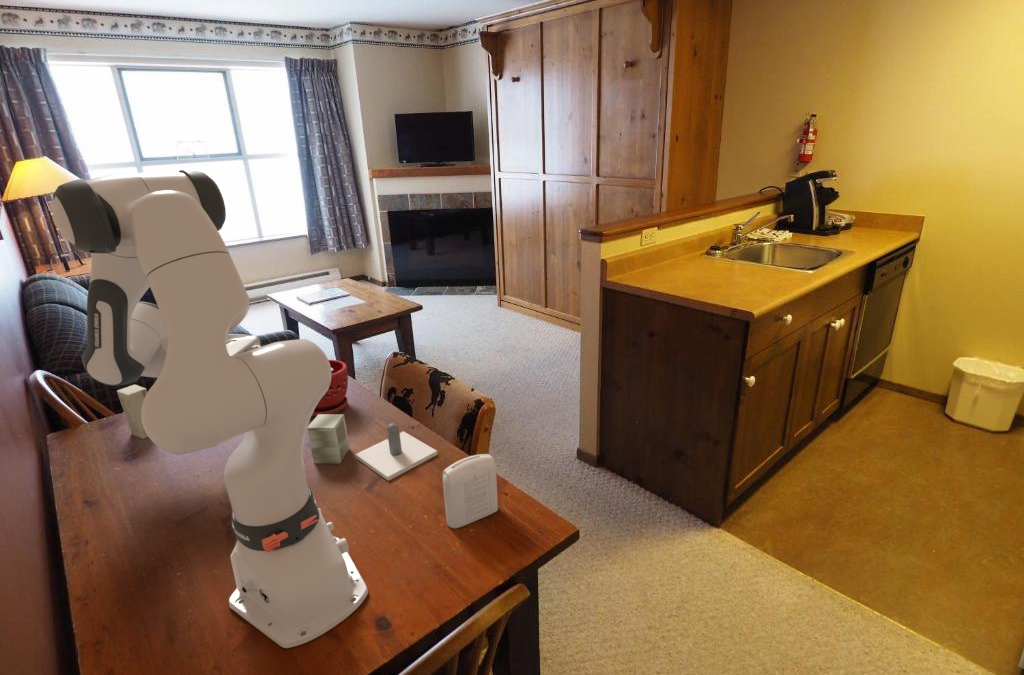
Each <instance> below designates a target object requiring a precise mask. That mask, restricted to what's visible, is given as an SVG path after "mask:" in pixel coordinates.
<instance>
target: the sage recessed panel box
mask: <svg viewBox="0 0 1024 675" xmlns="http://www.w3.org/2000/svg"><path fill="white" fill-rule="evenodd" d="M346 425H347V424H346V419H345V414H341V413H340V414H339V413H335V414H318V415H317V416H316V417H315V418H313V420H312V421H310V424H308V427H307V431H306V432H307V435H308V439H309V440H308V441H309V445H310V451H311V455H312V460H313V463H314V464H341V463H342V461H343V460H344V458H345V457H346V456H347V454H348V452H349V450H350V449H351V448H350V447H351V446H350V442H349V441H350V440H349V436H348V430H347V426H346Z"/></svg>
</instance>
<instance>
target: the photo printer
mask: <svg viewBox="0 0 1024 675" xmlns="http://www.w3.org/2000/svg"><path fill="white" fill-rule="evenodd" d="M496 465H497V464H496V462H495V459H494V458H493V456H492V455H491V454H489V453H483V454H482V453H479V454H474V455H470V456H467V457H465V458H462V459H460V460H457V461H455V462H454V463H452V464H450V465H449V466H447V467H445V469H444V470H443V471H442V476H441V479H442V488H443V498H444V499H443V500H444V510H445V517H446V524H447V526H448V527H450V528H451V529H458V528H462V527H465V526H468V525H469V524H472V523H474V522H477V521H478V520H480V519H483V518H485V517H488V516H491V515H493V514H495V513H496V512H497V511H498V510H499V501H498V500H499V499H498V484H497V467H496Z"/></svg>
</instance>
